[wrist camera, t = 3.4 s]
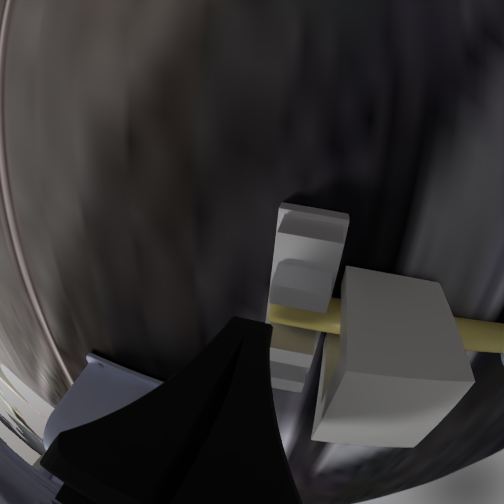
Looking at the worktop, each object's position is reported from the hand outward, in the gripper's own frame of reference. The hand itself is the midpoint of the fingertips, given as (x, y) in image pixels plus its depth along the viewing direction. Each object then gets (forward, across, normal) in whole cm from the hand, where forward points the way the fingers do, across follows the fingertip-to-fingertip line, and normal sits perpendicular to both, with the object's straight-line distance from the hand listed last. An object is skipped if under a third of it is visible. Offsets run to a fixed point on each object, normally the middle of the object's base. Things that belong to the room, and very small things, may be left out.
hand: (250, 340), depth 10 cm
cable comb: (+3, -1, 0) cm, 3 cm away
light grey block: (+3, -5, 0) cm, 6 cm away
